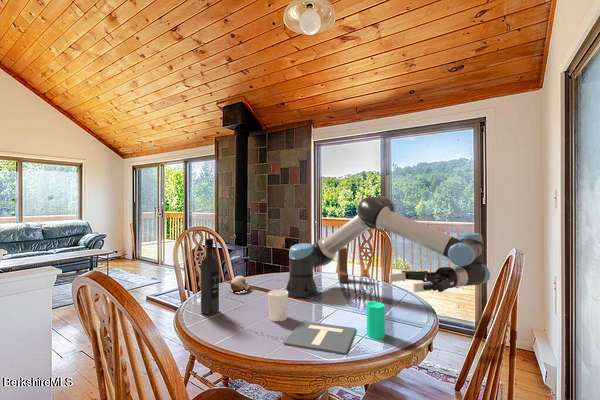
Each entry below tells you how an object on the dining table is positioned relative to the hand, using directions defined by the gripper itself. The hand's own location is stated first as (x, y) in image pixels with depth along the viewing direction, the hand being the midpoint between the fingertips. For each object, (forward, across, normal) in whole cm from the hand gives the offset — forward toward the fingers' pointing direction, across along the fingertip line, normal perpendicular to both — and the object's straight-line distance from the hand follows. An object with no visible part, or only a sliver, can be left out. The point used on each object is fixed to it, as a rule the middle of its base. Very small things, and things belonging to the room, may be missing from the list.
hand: (401, 282), depth 106 cm
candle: (+10, 0, -17) cm, 20 cm away
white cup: (+38, +25, -17) cm, 48 cm away
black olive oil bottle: (+63, +40, -16) cm, 76 cm away
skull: (+47, +66, -16) cm, 83 cm away
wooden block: (-9, +66, -17) cm, 69 cm away
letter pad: (+28, +5, -17) cm, 33 cm away
